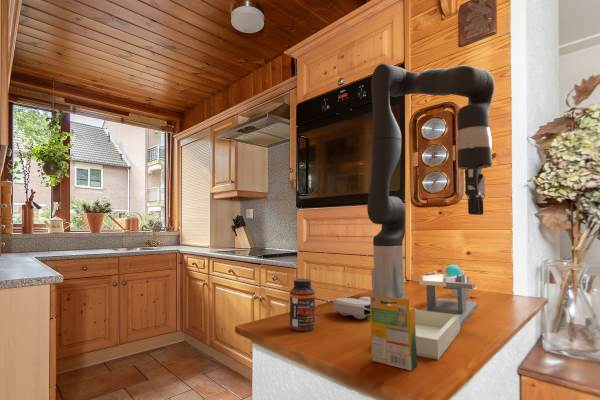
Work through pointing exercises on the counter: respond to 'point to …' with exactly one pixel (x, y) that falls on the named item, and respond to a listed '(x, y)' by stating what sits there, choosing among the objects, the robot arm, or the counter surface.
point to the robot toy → (353, 306)
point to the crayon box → (393, 333)
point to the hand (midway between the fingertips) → (476, 214)
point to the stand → (450, 302)
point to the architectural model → (454, 292)
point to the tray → (435, 332)
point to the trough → (445, 281)
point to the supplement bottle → (302, 306)
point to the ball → (453, 270)
